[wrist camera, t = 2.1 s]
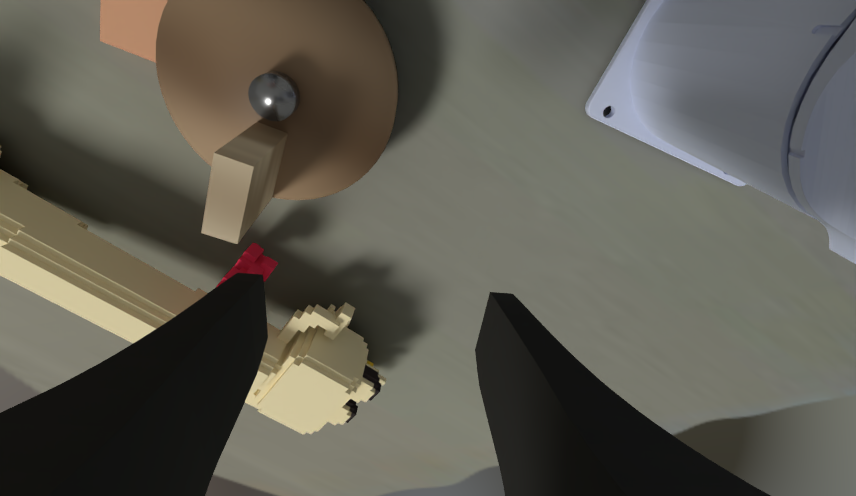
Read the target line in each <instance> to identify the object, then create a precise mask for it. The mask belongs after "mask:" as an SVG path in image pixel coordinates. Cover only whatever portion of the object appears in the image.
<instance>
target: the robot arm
mask: <svg viewBox="0 0 856 496" xmlns="http://www.w3.org/2000/svg"><path fill="white" fill-rule="evenodd" d="M608 106H611V112H610V113H609V114H608V115H606V116H603V111H604V109H605V108H606V107H608ZM585 111H586V113H587V115H589V116H590V117H592V118H593V119H596V120H598V121H600V122H602V123H604V124H606V125H608V126H610V127H613V128H615V129H617V130H619V131H621V132H623V133H625V134H628V135H630V136H632V137H634V138H636V139H638V140H640V141H643V142H645V143H647V144H649V145H651V146H653V147H655V148H657V149H660V150H662V151H664V152H666V153H668V154H670V155H672V156H675V157H677V158H679V159H681V160H683V161H685V162H687V163H689V164H692V165H694V166H696V167H698V168H700V169H702V170H704V171H707V172H709V173H711V174H713V175H715V176H717V177H719V178H722V179H724V180H726V181H728V182H730V183H732V184H734V185H736V186H744V185H746V184H748V185H750V186H752V187H754V188H756V189H758V190H760V191H762V192H764V193H766V194H768V195H770V196H771V197H773V198H775V199H777V200H779V201H781V202H783V203H785V204H787V205H789V206H791V207H793V208H795V209H797V210H799V211H801V212H803V213H804V214H806V215H808V216H810V217H812V218H814V219H817V220H818V221H819V222H821V223H822V224H823V225H824V226H825V227H826V229H827V231H828V234H829V249H830V250H832V251H834V252H835V253H837V254H839V255H841V256H842V257H844V258H846V259H848V260H849V261H851V262H853V263H855V264H856V0H646V1H645V3H644V5H643V7H642V8H641V10H640V12H639V13H638V15H637V17H636V19H635V20H634V22H633V24H632V25H631V27H630V29H629V31H628V32H627V34H626V36H625V37H624V39H623V41H622V42H621V44H620V46H619V48H618V49H617V51H616V53H615V54H614V56H613V58H612V60H611V61H610V63H609V65H608V66H607V68H606V70H605V72H604V73H603V75H602V77H601V78H600V80H599V82H598V84H597V85H596V87H595V89H594V90H593V92H592V94H591V95H590V97H589V99H588V101H587V103H586V105H585ZM267 339H268V330H267V318H266V305H265V292H264V280H263V275H262V274H249V273H236V274H235V275H233V276H232V277H230V278H229V279H227V280H226V281H225V282H223V283H222V284H220V285H219V286H218V287H216V288H215V289H213V290H212V291H211V292H209V293H208V294H207V295H205V296H204V297H202V298H201V299H200V300H198V301H197V302H195V303H194V304H192V305H191V306H190V307H188V308H187V309H185V310H184V311H182V312H181V313H180V314H178V315H177V316H175V317H174V318H172V319H171V320H169V321H168V322H166V323H165V324H163V325H162V326H160V327H158V328H157V329H155V330H154V331H152V332H151V333H149V334H147V335H146V336H144V337H143V338H141V339H140V340H138V341H136V342H135V343H133V344H132V345H130V346H129V347H127V348H125V349H124V350H122V351H120V352H119V353H117V354H115V355H114V356H112V357H110V358H108V359H107V360H105V361H103V362H101V363H99V364H98V365H96V366H94V367H92V368H90V369H88V370H87V371H85V372H83V373H81V374H79V375H77V376H75V377H73V378H72V379H70V380H68V381H66V382H64V383H62V384H60V385H58V386H56V387H54V388H52V389H50V390H48V391H46V392H43V393H41V394H39V395H37V396H35V397H33V398H31V399H29V400H27V401H25V402H22V403H20V404H18V405H16V406H14V407H12V408H10V409H8V410H6V411H3V412H1V413H0V496H205V494H206V491H207V488H208V485H209V482H210V480H211V477H212V475H213V472H214V470H215V468H216V465H217V463H218V460H219V458H220V456H221V453H222V451H223V449H224V447H225V445H226V442H227V440H228V438H229V436H230V434H231V431H232V429H233V427H234V425H235V422H236V420H237V418H238V416H239V414H240V411H241V409H242V407H243V405H244V402H245V400H246V398H247V396H248V393H249V391H250V389H251V387H252V384H253V382H254V380H255V378H256V375H257V373H258V369H259V366H260V363H261V360H262V357H263V353H264V350H265V346H266V343H267ZM475 352H476V362H477V371H478V379H479V386H480V390H481V394H482V398H483V402H484V406H485V411H486V415H487V419H488V423H489V427H490V431H491V434H492V438H493V442H494V446H495V450H496V454H497V458H498V462H499V466H500V471H501V475H502V480H503V485H504V491H505V496H770V495H768V494H766V493H765V492H763V491H761V490H759V489H757V488H756V487H754V486H752V485H750V484H749V483H747V482H745V481H744V480H742V479H740V478H739V477H737V476H735V475H733V474H732V473H730V472H729V471H727V470H725V469H724V468H722V467H720V466H718V465H717V464H716V463H714V462H712V461H711V460H709V459H707V458H706V457H704V456H703V455H701V454H700V453H698V452H696V451H695V450H693V449H692V448H690V447H689V446H687V445H686V444H684V443H683V442H681V441H680V440H678V439H677V438H675V437H674V436H673V435H671V434H670V433H668V432H667V431H665V430H664V429H663V428H661V427H660V426H658V425H657V424H655V423H654V422H652V421H651V420H650V419H648V418H647V417H646V416H644V415H643V414H642V413H640V412H639V411H638V410H636V409H635V408H634V407H632V406H631V405H630V404H629V403H627V402H626V401H625V400H624V399H622V398H621V397H620V396H619V395H617V394H616V393H615V392H613V391H612V390H611V389H610V388H609V387H607V386H606V385H605V384H604V383H603V382H601V381H600V380H599V379H598V378H597V377H596V376H595V375H594V374H592V373H591V372H590V371H589V370H588V369H587V368H586V367H585V366H584V365H583V364H581V363H580V362H579V361H578V360H577V359H576V358H575V357H574V356H573V355H572V354H571V353H570V352H569V351H568V350H567V349H566V348H565V347H564V346H563V345H562V344H561V343H560V342H559V341H558V340H557V339H556V338H555V337H554V336H553V335H552V334H551V333H550V332H549V331H548V330H547V329H546V328H545V327H544V326H543V325H542V324H541V323H540V322H539V321H538V320H537V319H536V318H535V317H534V315H533V314H532V313H531V312H530V311H529V310H528V309H527V308H526V307H525V306H524V305H523V304H522V303H521V302H520V301H519V300H518V299H517V298H516V297H515V296H514V295H513V294H508V293H495V292H490V295H489V299H488V302H487V306H486V310H485V314H484V318H483V322H482V326H481V330H480V333H479V337H478V341H477V345H476V349H475Z"/></svg>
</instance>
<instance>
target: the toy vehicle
mask: <svg viewBox="0 0 856 496" xmlns="http://www.w3.org/2000/svg"><path fill="white" fill-rule="evenodd" d="M0 148H1V145H0ZM1 153H2V151H0V156H1ZM27 187H28V185H26V184H25V183H23V182H22V181H20V180H19V179H17V178H15V177H13V176H12V175H10V174H8V173H6V172H5V171H3V170H1V169H0V276H2V277H4V278H6V279H8V280H10V281H12V282H14V283H16V284H18V285H20V286H22V287H24V288H26V289H28V290H30V291H32V292H34V293H36V294H37V295H39V296H41V297H43V298H45V299H47V300H49V301H51V302H53V303H55V304H57V305H59V306H61V307H63V308H65V309H67V310H69V311H71V312H73V313H75V314H77V315H79V316H81V317H83V318H85V319H86V320H88V321H90V322H92V323H94V324H96V325H98V326H100V327H102V328H104V329H106V330H108V331H110V332H112V333H114V334H116V335H118V336H120V337H122V338H124V339H126V340H128V341H130V342H132V343H135V342H136V341H138V340H140V339H141V338H143V337H144V336H146V335H147V334H149V333H151V332H152V331H154V330H155V329H157V328H158V327H160V326H162V325H163V324H165V323H166V322H168V321H169V320H171V319H172V318H174V317H175V316H177V315H178V314H180V313H181V312H182V311H184V310H185V309H187V308H188V307H190V306H191V305H192V304H194V303H195V302H197V301H198V300H200V299H201V298H202V297H204V296H205V295H207V294H208V293H206V292H204V291H203V290H201V289H199V288H198V289H197V290H196V291H193V290H192V289H190V288H188V287H186V286H184V285H183V284H181V283H179V282H177V281H176V280H174V279H172V278H170V277H169V276H167V275H165V274H163V273H162V272H160V271H158V270H156V269H155V268H153V267H151V266H149V265H148V264H146V263H144V262H142V261H140V260H139V259H137V258H135V257H133V256H132V255H130V254H128V253H126V252H125V251H123V250H121V249H119V248H118V247H116V246H114V245H112V244H111V243H109V242H107V241H105V240H104V239H102V238H100V237H98V236H96V235H95V234H93V233H91V232H89V231H88V230H87V227H88V225H87V224H85V223H83V222H82V221H80V220H78V219H77V218H75V217H73V216H71V215H70V214H68V213H66V212H64V211H63V210H61V209H59V208H57V207H56V206H54V205H52V204H50V203H49V202H47V201H45V200H43V199H42V198H40V197H38V196H36V195H35V194H33V193H31V192H29V191H28V190H27ZM263 251H264V249H263V248H261V247H260V246H259V245H258V244H256V243H252V244H251V245H250V246H249V247H248V249H247V250H246V251H245V252H244V253H243V255H242V256H241V257H240V258H239V260H238V261H237V263H236V264H235V266H234V267H232V268H231V270H230V271H229V272H228V273H227V274H226V275H225V276H224V277H223V279H222V280H221V282H220V283H219V284H218V285H217V287H218V286H219V285H220V284H222V283H223V282H225V281H226V280H227V279H229V278H230V277H232V276H233V275H235V274H236V273H249V274H262V275H263V280H264V282H265V281H266V280H267V278H268V277H269V276H270V274H271V273H272V271H273V270H274V269H275V267H276V266H277V264H278V262H276V261H275V260H273V259H271V258H270V257H268V256H267V257H266V256H264V255H262V254H263ZM335 308H336V307H335V306H334V305H332V304H331V305H330V306H329V307H328V310H326V309H324V308H322V307H321V306H319V305H318V304H317V305H316V306H315V307H314V308H313V307H312V306H310V305H308V306H307V308H306V309H305V310H304V311H303V312H302V311H300V310H297V311H296V312H295V313H294V315H293V316H292V317H291V318H290V320H289V321H288V322H287V324H286V325H285V326H284V327H283V329H282V330H279V329H277V328H276V327H274V326H272V325H271V324H269V323H267V330H268V339H267V343H266V346H265V350H264V353H263V357H262V360H261V363H260V366H259V369H258V373H257V375H256V378H255V380H254V382H253V384H252V387H251V389H250V391H249V393H248V396H247V398H246V400H245V402H246V403H248V404H250V405H252V406H253V407H255V408H257V409H258V412H260V413H262V414H264V415H266V416H268V417H270V418H272V419H274V420H276V421H278V422H279V423H281V424H283V425H285V426H287V427H289V428H291V429H293V430H295V431H297V432H299V433H301V434H303V435H304V434H305V433H306V432H308V433H310V434H312V433H313V432H314V431H316V432H318V431H319V430H320V429H321V428H322V427H323V426H324V425H325V424H326V423H327V422H330V423H331V424H333V425H336V424H337V423H339V424H341V425H343V424H344V423H345V422H347V423H348V422H349V421H350V420H351V419H352V418H353V417H354V416H355V415H356V413H357V408H358V406H356V402H357V403H358V402H359V401H360V400H362V401H364V402H366V401H367V400H368V399H369V400H370V401H371V400H372V399H373V398H374V397H375V396H376V395H377V394H378V393H379V392H380V388H381V385H384V384H385V383H386V378H384V377H383V376H381V375H379V374H378V373H379V370H378V369H376V368H374V367H373V363H372V362H370V361H368V360H367V356H368V352H369V350H368V349H367V343H365V342H363V340H364V338H363V337H362V336H360V335H358V334H357V333H355V332H353V331H352V330H350V329H348V328H347V327H348V326H349V324H350V322H351V321H350V320H351V319H352V316H353V313H354V310H355V308H354V307H353V306H351V305H349V304H348V303H346V302H345V303H344V305H343V306H342V307H341V306H340V308H339V309H338V310H337V311H336V312H335V311H334V310H335Z"/></svg>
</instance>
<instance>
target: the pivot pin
mask: <svg viewBox="0 0 856 496" xmlns="http://www.w3.org/2000/svg"><path fill="white" fill-rule="evenodd" d="M248 96H249V101H250V103H251V106H252V107H253V109H254V110H255V111H256V113H257V114H259V115H260V116H261V117H263V118H264V119H267V120H270V121H282V120H284V119H286V118H287V117H289V116H290V115H291V114H292V113H293V112H295V110H296V109H297V108H298V106H299V103H300V93H299V89H298V87H297V85H296V83H295V82H294V81H293V80H292V79H291V78H290V77H289V76H288V75H286V74H284V73H282V72H278V71H270V72H267V73H264V74H262V75H260V76H258V77H256V78H255V79H254V80H253V81H252V82H251V84H250V86H249V91H248Z"/></svg>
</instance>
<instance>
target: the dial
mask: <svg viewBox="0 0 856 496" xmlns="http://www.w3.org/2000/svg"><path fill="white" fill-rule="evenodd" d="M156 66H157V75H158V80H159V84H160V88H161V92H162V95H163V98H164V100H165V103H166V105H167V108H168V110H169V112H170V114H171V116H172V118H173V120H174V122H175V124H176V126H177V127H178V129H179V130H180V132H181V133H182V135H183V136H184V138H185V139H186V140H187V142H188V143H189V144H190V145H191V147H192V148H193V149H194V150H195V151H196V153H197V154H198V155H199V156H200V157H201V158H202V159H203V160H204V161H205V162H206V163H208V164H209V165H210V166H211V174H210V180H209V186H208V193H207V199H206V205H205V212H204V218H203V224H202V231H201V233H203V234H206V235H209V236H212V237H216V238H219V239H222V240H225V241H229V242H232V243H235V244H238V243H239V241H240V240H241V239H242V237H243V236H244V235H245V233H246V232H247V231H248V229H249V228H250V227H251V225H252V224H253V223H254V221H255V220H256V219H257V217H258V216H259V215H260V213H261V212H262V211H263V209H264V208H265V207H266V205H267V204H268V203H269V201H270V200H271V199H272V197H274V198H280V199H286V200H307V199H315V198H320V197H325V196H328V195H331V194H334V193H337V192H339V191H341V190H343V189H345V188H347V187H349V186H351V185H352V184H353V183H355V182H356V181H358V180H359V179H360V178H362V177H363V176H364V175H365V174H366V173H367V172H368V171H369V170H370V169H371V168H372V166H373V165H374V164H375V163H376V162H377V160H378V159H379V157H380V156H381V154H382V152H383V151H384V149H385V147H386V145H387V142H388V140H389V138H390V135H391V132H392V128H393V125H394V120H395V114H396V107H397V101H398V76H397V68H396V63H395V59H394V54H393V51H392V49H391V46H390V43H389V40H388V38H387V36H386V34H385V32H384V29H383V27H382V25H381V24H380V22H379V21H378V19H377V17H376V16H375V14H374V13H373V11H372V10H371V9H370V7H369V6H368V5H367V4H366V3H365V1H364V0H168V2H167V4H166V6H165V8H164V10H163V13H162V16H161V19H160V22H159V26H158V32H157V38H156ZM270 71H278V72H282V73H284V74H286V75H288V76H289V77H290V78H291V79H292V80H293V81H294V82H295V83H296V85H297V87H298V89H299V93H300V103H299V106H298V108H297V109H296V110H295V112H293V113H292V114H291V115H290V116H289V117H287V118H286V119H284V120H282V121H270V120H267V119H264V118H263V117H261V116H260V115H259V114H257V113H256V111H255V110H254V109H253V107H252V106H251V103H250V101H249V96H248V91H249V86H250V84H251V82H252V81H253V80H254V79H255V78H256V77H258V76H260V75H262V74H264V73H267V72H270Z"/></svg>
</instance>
